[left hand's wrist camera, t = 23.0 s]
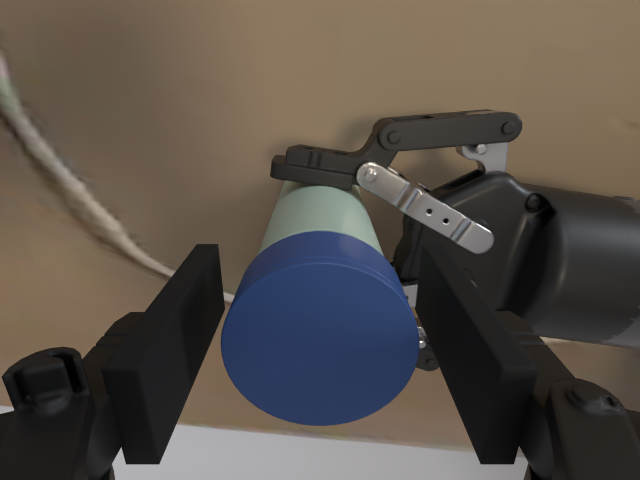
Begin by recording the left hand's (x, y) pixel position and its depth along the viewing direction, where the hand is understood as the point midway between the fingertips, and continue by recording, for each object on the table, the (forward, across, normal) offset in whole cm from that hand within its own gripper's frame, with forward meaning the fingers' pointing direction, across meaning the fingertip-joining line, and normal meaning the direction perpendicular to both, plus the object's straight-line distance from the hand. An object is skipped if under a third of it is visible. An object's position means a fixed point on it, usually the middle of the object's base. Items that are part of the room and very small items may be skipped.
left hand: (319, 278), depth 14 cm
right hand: (+5, -3, 0) cm, 6 cm away
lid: (-4, 0, 0) cm, 4 cm away
